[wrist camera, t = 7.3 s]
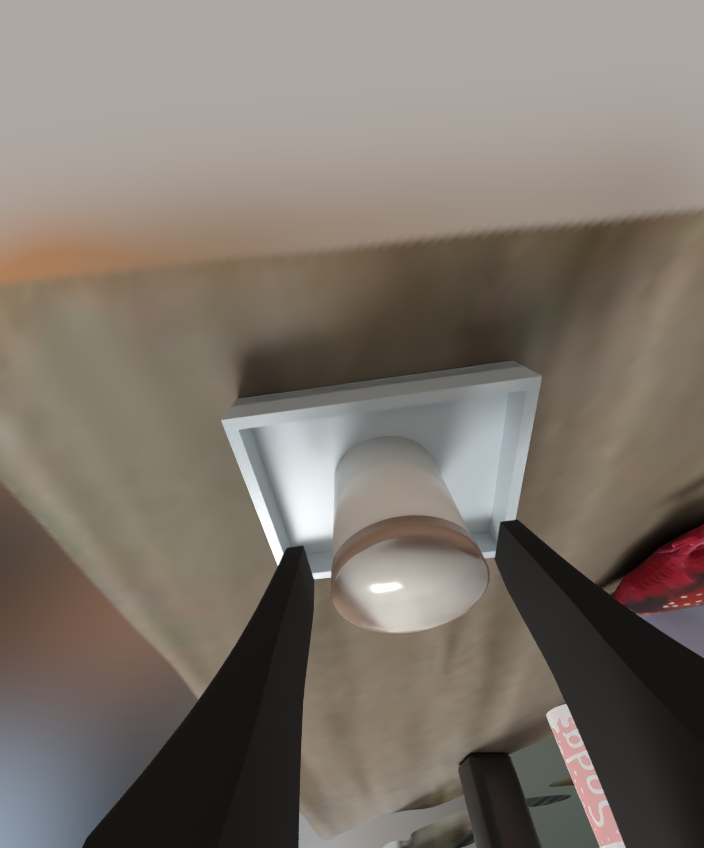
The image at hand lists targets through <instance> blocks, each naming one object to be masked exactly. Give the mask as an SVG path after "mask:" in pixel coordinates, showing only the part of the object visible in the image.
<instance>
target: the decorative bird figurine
mask: <svg viewBox="0 0 704 848" xmlns="http://www.w3.org/2000/svg"><path fill="white" fill-rule="evenodd" d="M612 597H613V598H614V599H616V600H617V601H619V602H620V603H621V604H623V605H624V606H625V607H627V608H628V609H630V610H631V611H633V612H634V613H635V614H637V615H650V614H658V613H664V612H670V611H675V610H681V609H686V608H691V607H697V606H702V605H704V524H703V525H701V526H700V527H698V528H696V529H694V530H691V531H689V532H687V533H685V534H683V535H680V536H679V537H677V538H675V539H673V540H671V541H670V542H668V543H666V544H665V545H663V546H661V547H660V548H659V549H658V550H656V551H655V552H654V553H653V554H651V555H650V556H649V557H648V558H647V559H646V560H645V561H644V562H642V563H641V564H640V565H639V566H638V567H636V568H635V569H634V570H632V571H631V572H630V573H629V574H627V575H626V576H625V577H624V578H623V579H622V581H621V582H620V584H619V586H618V587H617V589H616V590H615V592H614V593H613V595H612Z"/></svg>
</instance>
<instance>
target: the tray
mask: <svg viewBox="0 0 704 848" xmlns="http://www.w3.org/2000/svg"><path fill="white" fill-rule="evenodd" d="M541 380H542V376H541V375H539V374H538V373H536V372H534V371H532V370H530V369H529V368H527V367H525V366H523V365H521V364H519V363H518V362H516V361H514V360H513V361H505V362H498V363H491V364H484V365H477V366H469V367H462V368H455V369H448V370H441V371H433V372H426V373H419V374H412V375H405V376H397V377H390V378H383V379H376V380H369V381H361V382H354V383H347V384H340V385H333V386H325V387H318V388H311V389H304V390H297V391H289V392H282V393H275V394H268V395H261V396H253V397H246V398H239V399H236V401H235V402H234V404H233V405H232V406H231V408H230V409H229V410H228V412H227V413H226V414H225V416H224V417H223V418H222V420H221V421H222V424H223V426H224V429H225V431H226V434H227V436H228V439H229V442H230V444H231V447H232V449H233V452H234V454H235V457H236V460H237V462H238V465H239V467H240V470H241V472H242V475H243V478H244V480H245V483H246V485H247V488H248V490H249V493H250V496H251V498H252V501H253V503H254V506H255V508H256V511H257V514H258V516H259V519H260V521H261V524H262V526H263V529H264V532H265V534H266V537H267V539H268V542H269V544H270V547H271V549H272V552H273V555H274V557H275V560H276V562H277V565H279V563H280V561H281V558H282V556H283V554H284V551H285V550H286V549H287V548H288V547H296V546H304V549H305V552H306V555H307V558H308V562H309V565H310V568H311V571H312V575H313V578H314V579H321V578H329V577H331V566H332V562H333V514H334V476H335V471H336V468H337V466H338V464H339V462H340V460H341V459H342V458H343V456H344V455H345V454H346V453H347V452H348V451H349V450H351V449H352V448H353V447H355V446H356V445H358V444H360V443H362V442H364V441H366V440H370V439H373V438H377V437H384V436H396V437H403V438H407V439H410V440H412V441H415V442H417V443H418V444H420V445H422V446H423V447H424V448H425V449H426V450H427V451H428V452H429V453H430V454H431V456H432V457H433V459H434V461H435V463H436V465H437V467H438V469H439V471H440V473H441V475H442V477H443V479H444V481H445V483H446V485H447V487H448V489H449V492H450V494H451V496H452V498H453V500H454V502H455V504H456V506H457V508H458V510H459V512H460V514H461V516H462V518H463V520H464V522H465V524H466V526H467V528H468V530H469V532H470V534H471V535H472V537H473V538H474V539H475V541H476V543H477V545H478V547H479V549H480V551H481V553H482V555H483V557H484V558H492V557H495V553H496V546H497V540H498V533H499V526H500V522H502V521H510V520H515V519H516V513H517V508H518V503H519V497H520V492H521V487H522V481H523V476H524V471H525V465H526V460H527V455H528V449H529V444H530V439H531V433H532V428H533V423H534V417H535V412H536V407H537V401H538V396H539V391H540V385H541Z"/></svg>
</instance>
